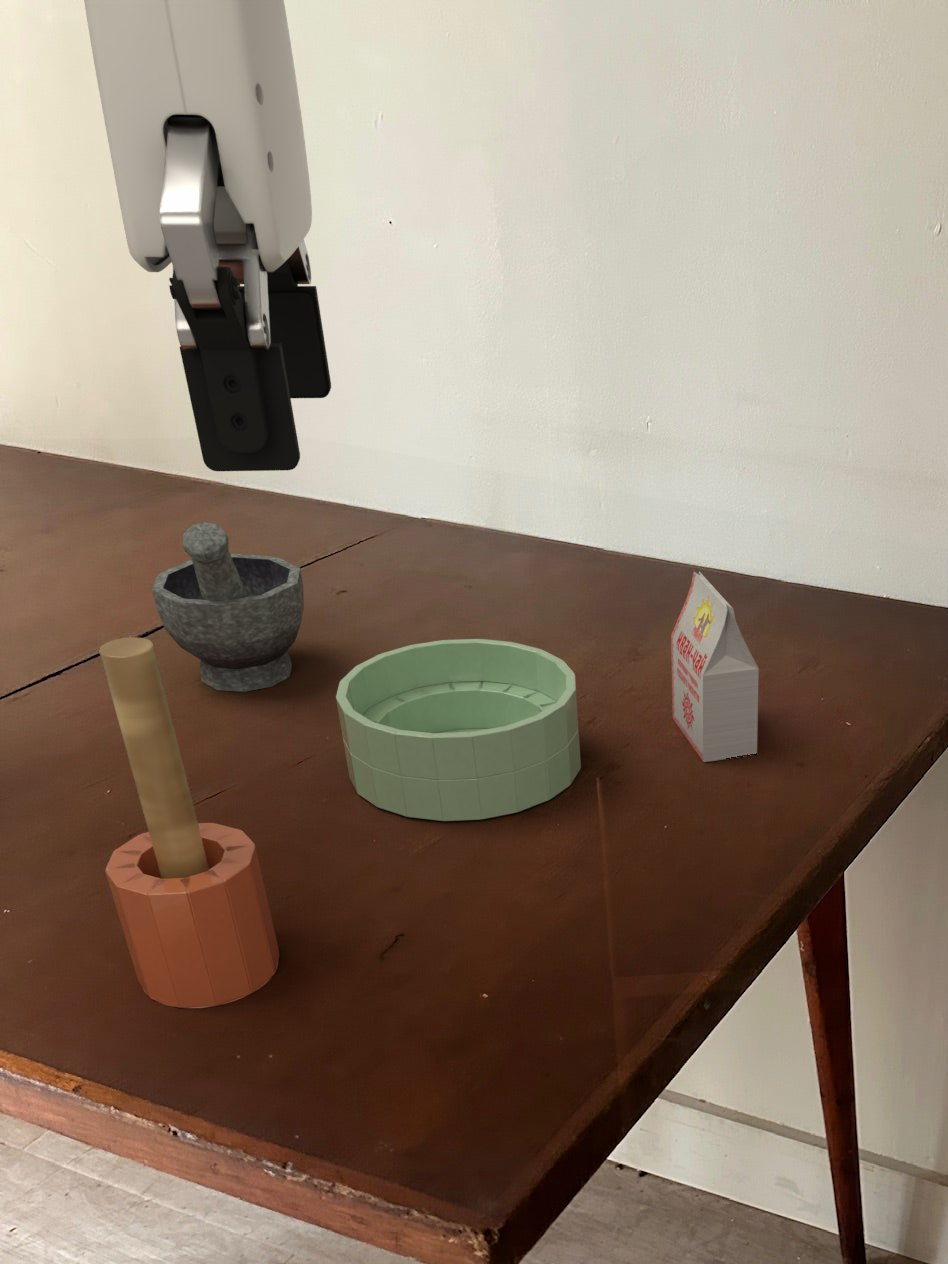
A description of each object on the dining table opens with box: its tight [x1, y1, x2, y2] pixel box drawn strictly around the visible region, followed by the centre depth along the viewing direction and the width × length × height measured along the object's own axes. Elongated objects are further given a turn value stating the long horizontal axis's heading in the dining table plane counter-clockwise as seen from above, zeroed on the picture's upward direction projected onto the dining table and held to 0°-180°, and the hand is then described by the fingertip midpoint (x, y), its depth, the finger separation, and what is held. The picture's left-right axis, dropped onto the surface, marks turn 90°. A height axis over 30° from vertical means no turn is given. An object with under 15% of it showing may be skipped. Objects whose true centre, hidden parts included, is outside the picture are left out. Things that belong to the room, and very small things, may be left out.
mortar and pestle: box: [151, 521, 305, 693], centre depth 97 cm, size 11×9×12 cm
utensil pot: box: [104, 822, 281, 1009], centre depth 70 cm, size 7×7×7 cm
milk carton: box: [670, 571, 760, 763], centre depth 92 cm, size 4×7×10 cm, turn 20°
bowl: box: [335, 638, 582, 822], centre depth 88 cm, size 14×14×6 cm
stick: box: [98, 636, 209, 879], centre depth 67 cm, size 2×2×17 cm
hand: (274, 429), depth 54 cm, fingers open, 9 cm apart
